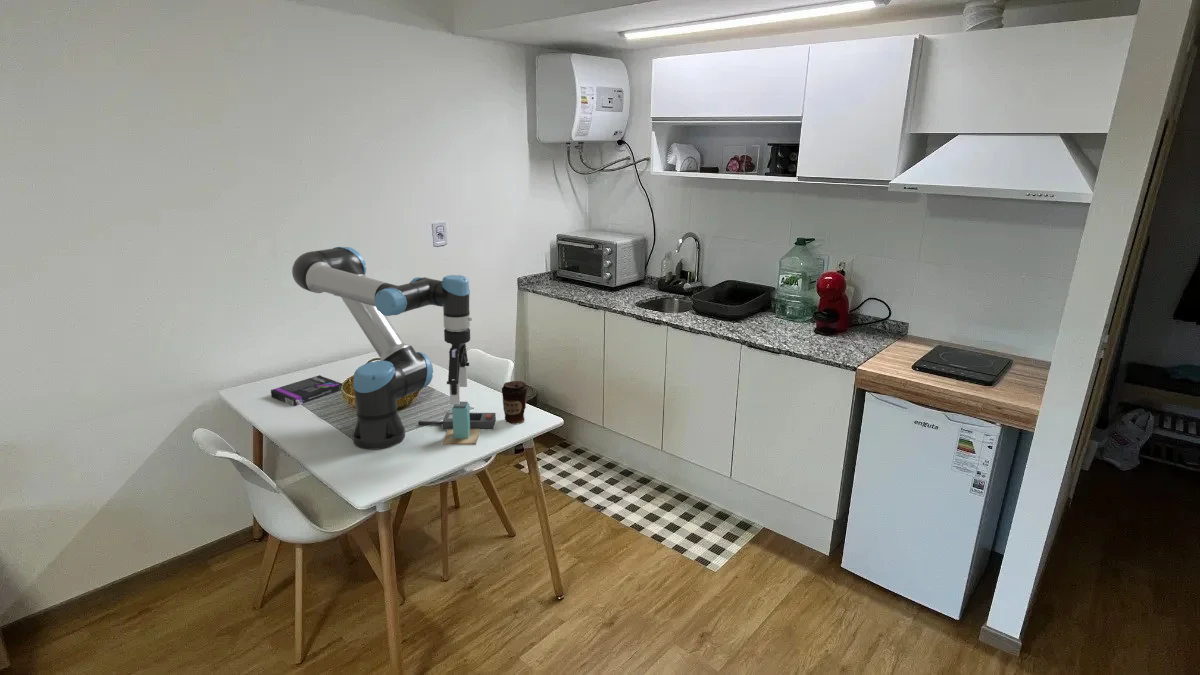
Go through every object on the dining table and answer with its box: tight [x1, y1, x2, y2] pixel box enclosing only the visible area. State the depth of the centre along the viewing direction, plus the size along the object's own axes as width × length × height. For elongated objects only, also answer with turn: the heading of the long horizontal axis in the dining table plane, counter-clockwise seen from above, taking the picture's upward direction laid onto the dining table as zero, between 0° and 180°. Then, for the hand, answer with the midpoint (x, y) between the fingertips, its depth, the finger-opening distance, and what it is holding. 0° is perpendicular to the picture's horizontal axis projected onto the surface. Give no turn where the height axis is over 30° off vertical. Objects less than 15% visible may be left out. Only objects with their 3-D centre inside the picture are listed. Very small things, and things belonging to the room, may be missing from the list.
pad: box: [442, 429, 481, 445], centre depth 195 cm, size 10×10×1 cm
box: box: [270, 374, 343, 407], centre depth 226 cm, size 14×4×20 cm
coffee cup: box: [501, 380, 528, 425], centre depth 206 cm, size 9×8×13 cm
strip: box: [417, 412, 497, 431], centre depth 203 cm, size 25×7×3 cm, turn 93°
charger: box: [451, 401, 471, 439], centre depth 193 cm, size 4×4×11 cm
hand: (459, 394), depth 191 cm, fingers open, 13 cm apart
